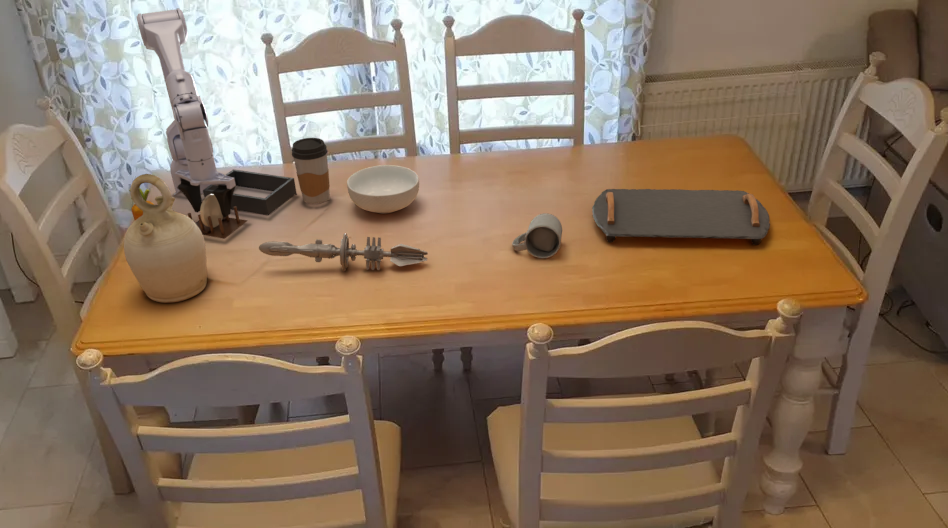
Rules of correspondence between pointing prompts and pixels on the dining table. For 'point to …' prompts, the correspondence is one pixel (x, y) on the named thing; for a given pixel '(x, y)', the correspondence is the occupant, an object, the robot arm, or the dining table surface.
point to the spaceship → (348, 252)
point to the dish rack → (220, 225)
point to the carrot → (137, 211)
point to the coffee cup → (312, 169)
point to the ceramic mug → (541, 236)
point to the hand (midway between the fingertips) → (212, 212)
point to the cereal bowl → (383, 188)
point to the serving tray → (680, 214)
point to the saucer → (210, 210)
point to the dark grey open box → (277, 184)
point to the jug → (165, 247)
